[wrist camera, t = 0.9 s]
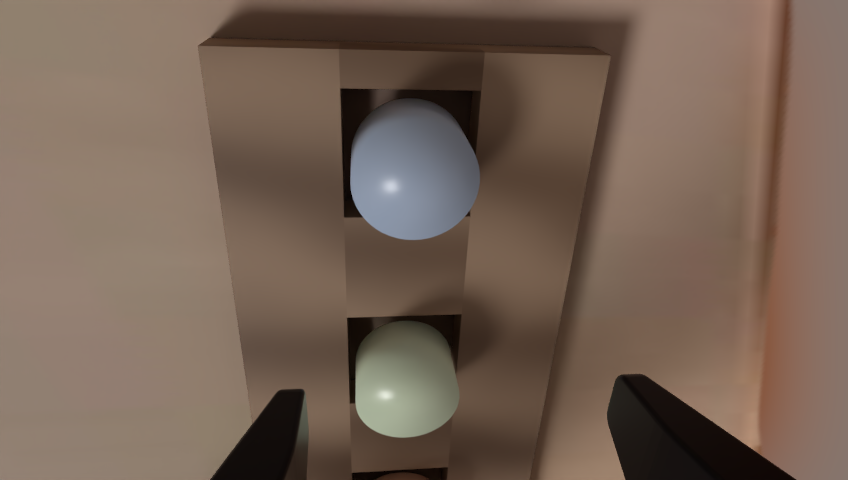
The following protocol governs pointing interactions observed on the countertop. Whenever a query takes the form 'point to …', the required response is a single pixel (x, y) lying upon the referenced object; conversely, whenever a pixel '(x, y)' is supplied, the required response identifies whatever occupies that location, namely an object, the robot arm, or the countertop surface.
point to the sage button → (405, 380)
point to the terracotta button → (402, 476)
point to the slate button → (412, 170)
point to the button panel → (398, 258)
